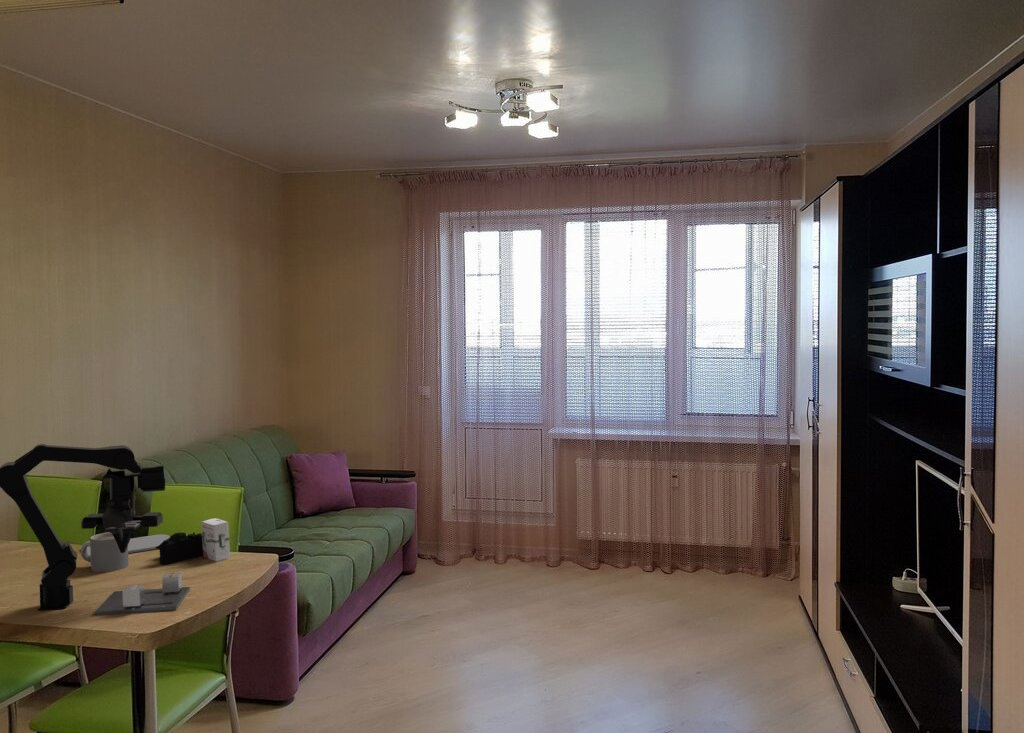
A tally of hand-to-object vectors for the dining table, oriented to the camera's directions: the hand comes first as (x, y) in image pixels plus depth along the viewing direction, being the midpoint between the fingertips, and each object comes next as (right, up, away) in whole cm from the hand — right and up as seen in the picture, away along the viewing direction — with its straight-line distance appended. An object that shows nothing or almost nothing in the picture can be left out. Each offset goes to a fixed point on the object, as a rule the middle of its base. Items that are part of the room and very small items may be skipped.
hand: (123, 552), depth 211 cm
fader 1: (+7, -11, -9) cm, 16 cm away
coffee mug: (-18, -11, +27) cm, 34 cm away
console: (+8, -12, -4) cm, 15 cm away
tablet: (-21, -11, +47) cm, 53 cm away
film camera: (0, -11, +36) cm, 37 cm away
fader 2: (+12, -10, +2) cm, 16 cm away
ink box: (+11, -11, +36) cm, 39 cm away
